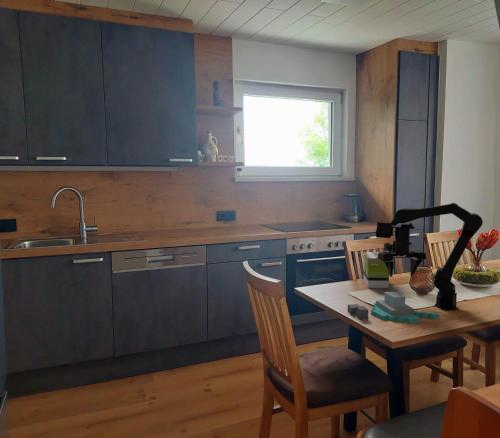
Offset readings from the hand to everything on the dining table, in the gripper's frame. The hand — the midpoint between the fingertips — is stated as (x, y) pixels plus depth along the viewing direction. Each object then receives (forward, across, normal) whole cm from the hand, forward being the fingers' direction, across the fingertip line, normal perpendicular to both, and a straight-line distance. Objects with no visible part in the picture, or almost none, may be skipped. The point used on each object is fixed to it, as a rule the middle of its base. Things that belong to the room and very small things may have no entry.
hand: (401, 276), depth 164 cm
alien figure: (+12, +8, +13) cm, 19 cm away
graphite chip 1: (+11, +24, +9) cm, 28 cm away
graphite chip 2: (+9, +22, +15) cm, 28 cm away
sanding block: (+10, +10, +13) cm, 19 cm away
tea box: (+11, -2, -28) cm, 30 cm away
